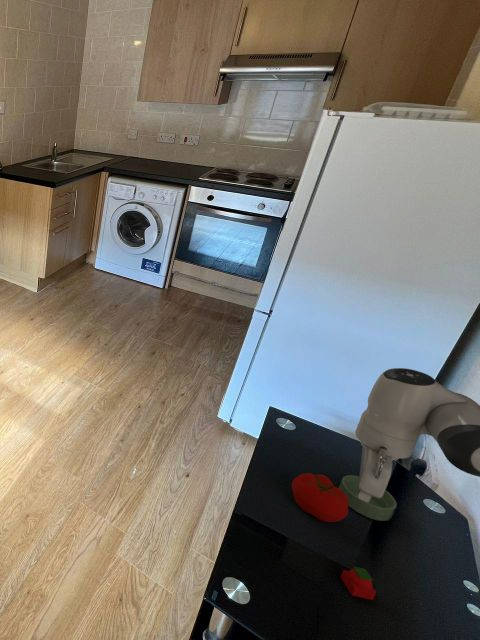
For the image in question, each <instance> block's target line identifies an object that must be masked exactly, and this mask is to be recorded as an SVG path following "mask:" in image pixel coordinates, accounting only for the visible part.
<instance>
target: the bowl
mask: <svg viewBox="0 0 480 640" xmlns="http://www.w3.org/2000/svg"><path fill="white" fill-rule="evenodd" d="M359 476H360V475H359ZM359 476H358V475H353V474H351V475H350V474H349V475H345V476H343V477H342V478H341V481H340V483H339V486H338V488H339V489H341V490H342V491H343V493H344V494H345V496H346V497H347V499H348V503H349V505H348V508H350V509H352V510H353V511H355V512H356V513H359V514H360V515H363V516H364V517H366V518H369V519H372V520H375V521H381V522H386V521H390V520H392V518H393V516H394V514H395V511H396V509H397V505H398V504H397V501H396V499H395V498H394V496H393V495H392V494H391V493H390V492H389V491H388V490H387V489H385V492H384V495H383V496H382V497H381V498H380V499H379V498H376V497H373V496H372V497H371V498H370V501H369V502H365V501H363V500H361V499H359V498H358V493H359V488H358V486H359Z"/></svg>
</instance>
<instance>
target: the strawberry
mask: <svg viewBox="0 0 480 640" xmlns="http://www.w3.org/2000/svg"><path fill="white" fill-rule="evenodd" d="M340 578H341V580H342V582H343V583H344V585H345V587H346V588H347V590H348V592H349V593H350V595H351V596H353V597H357V598H362V599H367V600H371V601H373V600H374V598H375V596H376V594H377V591H376V590H375V588H373V581H374V579H373V577H372V576H371V574H370V572H369V571H368V570H367V569H366V568H362V567H358V566H353V567H352V569H350V570H346V569H343V570H342V573H341V575H340Z"/></svg>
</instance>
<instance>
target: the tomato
mask: <svg viewBox="0 0 480 640" xmlns="http://www.w3.org/2000/svg"><path fill="white" fill-rule="evenodd" d="M291 490H292V493H293V500H294V501H295V502H296V504H297V506H298V507H299V508H300V509H301V510H302V511H303V512H304V513H305V514H309V515H312V516H313V517H314V518H316V519H317V520H319V521H322V522H326V523H336V522H341V521H343V520H344V519H345V518H346V517H347V516H348V514H349V506H348V505H349V503H348V499H347V497H346V496H345V494H344V493H343V491H342V490H341V489H339V487H336V485H335V484H334V483H333V482H332V480H330V478H329V477H328V476H326V475H323V474H322V473H320V474H316V473H314V474H312V473H311V472H305V473H301V474H299V475H298V476H296V477H295V478H294V479H293V481H291Z"/></svg>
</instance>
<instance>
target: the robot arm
mask: <svg viewBox="0 0 480 640" xmlns="http://www.w3.org/2000/svg"><path fill="white" fill-rule="evenodd" d="M354 433H355V436H356V438H357V439H358V440H359V442H360V444H361V446H362V449H361V460H360V468H359V486H358V488H359V493H358V498H359V499H361V500H363V501H365V502H369V501H370V498H371V497H372V496H373V497H376V498H379V499H380V498H381V497H382V496H383V495H384V492H385V490H387V487H388V484H389V482H390V479H391V475H392V470H393V461H398V460H400V459H408V458H410V457H411V456H412V453H413V451H414V449H415V447H416V445H417V443H418V440H419V438H420V436H422V435H427V436H431V437H432V438H433V439H434V440H435V442H436V443H437V445H438V446H439V449H440V450H441V452H442V453H443V455H444V457H445V458H446V460H447V461H448V462H449V463H450V464H451V465H452V466H453V467H455V468H456V469H458V470H460V471H462V472H464V473H466V474H469V475H472V476H475V477H478V478H480V404H479V403H478V402H476V401H475V400H474V399H473V398H471V397H468V396H467V395H464V394H463V393H458V392H455V391H452V390H451V389H449V388H447V387H446V386H443V385H442V384H441V383H439V382H437V380H436V379H434V377H432V376H431V375H429V374H427V373H425V372H422V371H419V370H416V369H411V368H405V367H396V368H395V367H394V368H390V369H386V370H385V371H383V372H382V373H381V374H380V375H379V376H378V377H377V379H376V381H375V382H374V384H373V385H372V388H371V390H370V392H369V395H368V398H367V407H366V409H365V410H364V411H363V412H362V413H361V416H360V418H359V421H358V423H357V427H356V429H355V432H354Z"/></svg>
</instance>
